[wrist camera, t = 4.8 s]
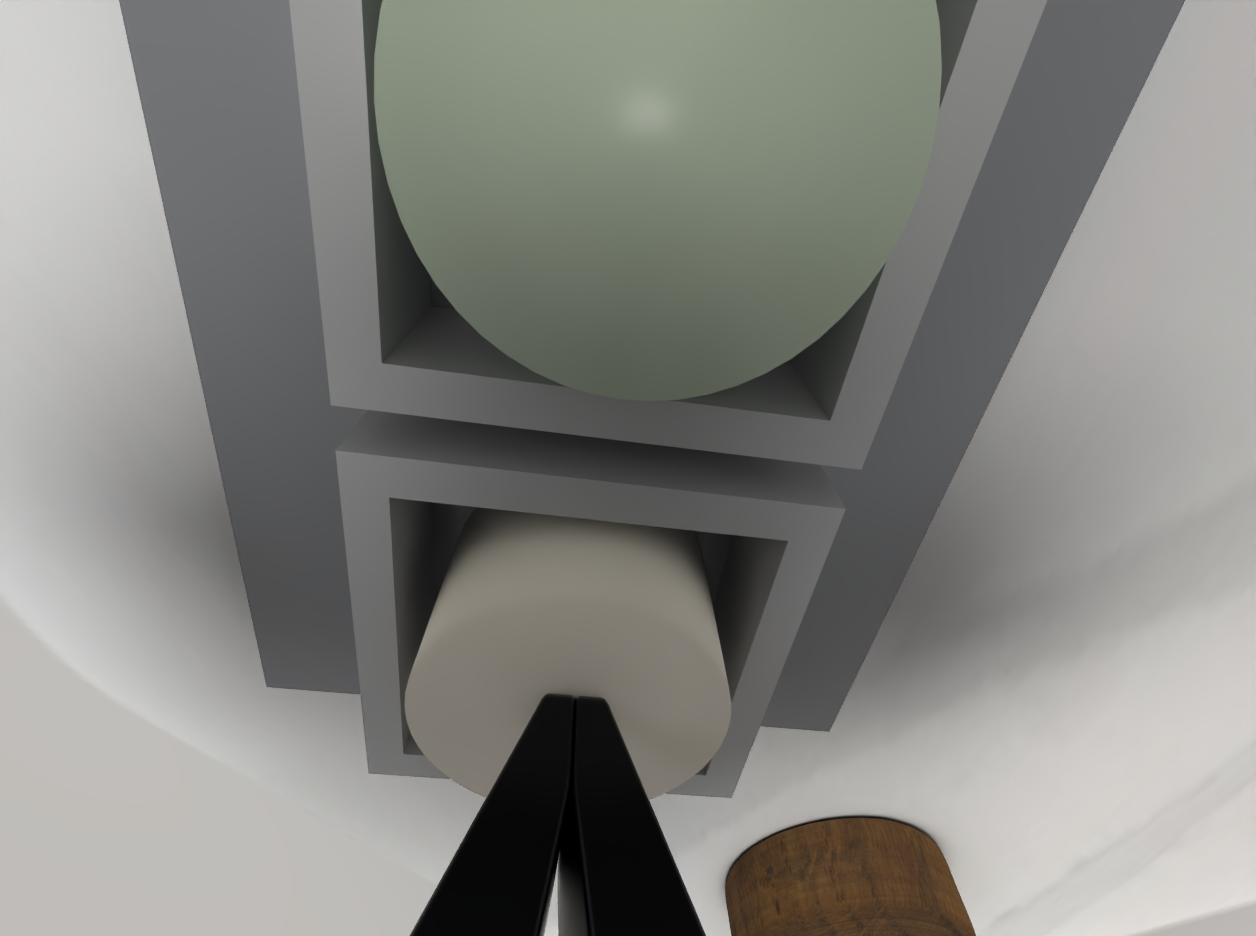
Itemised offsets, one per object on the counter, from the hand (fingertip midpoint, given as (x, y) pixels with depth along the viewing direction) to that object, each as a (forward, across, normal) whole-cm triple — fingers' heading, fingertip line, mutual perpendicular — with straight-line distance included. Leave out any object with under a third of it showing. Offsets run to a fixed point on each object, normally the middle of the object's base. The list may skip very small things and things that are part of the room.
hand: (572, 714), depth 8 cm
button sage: (+3, 0, -7) cm, 8 cm away
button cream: (+3, 0, 0) cm, 3 cm away
